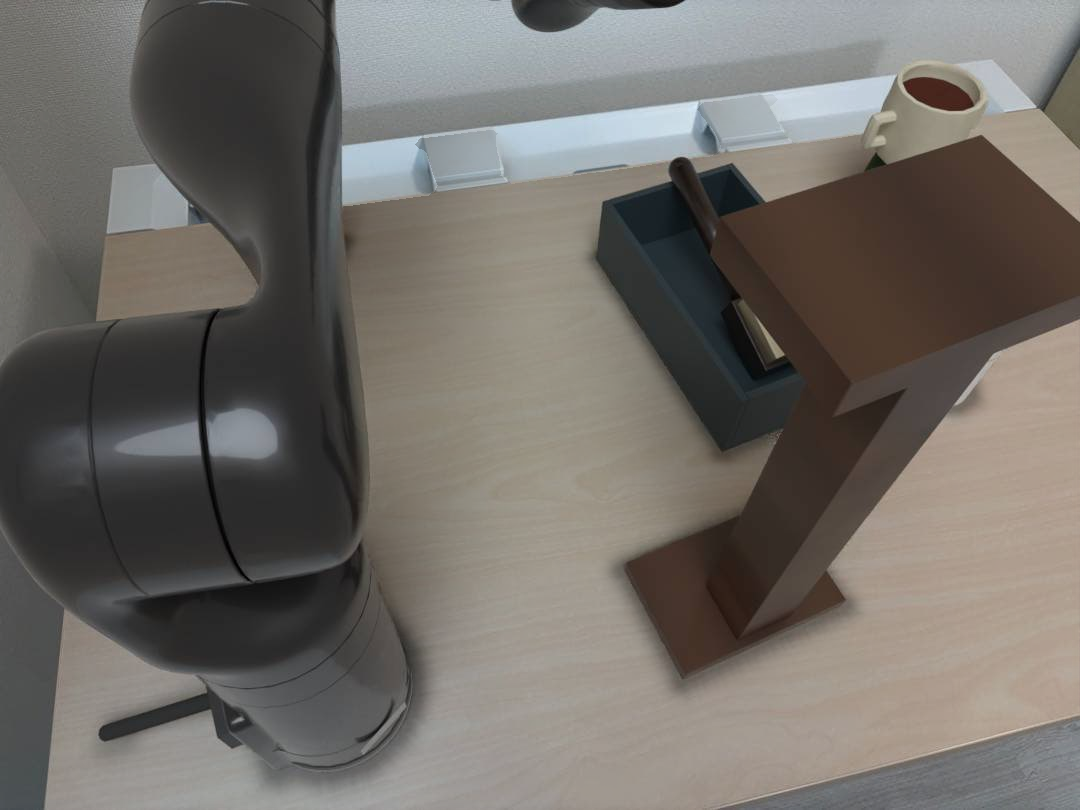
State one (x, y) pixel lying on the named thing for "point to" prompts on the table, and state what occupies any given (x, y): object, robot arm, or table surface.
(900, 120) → the cream coffee mug
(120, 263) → the table surface
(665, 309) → the tote
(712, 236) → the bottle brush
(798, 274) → the stand
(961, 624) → the table surface
